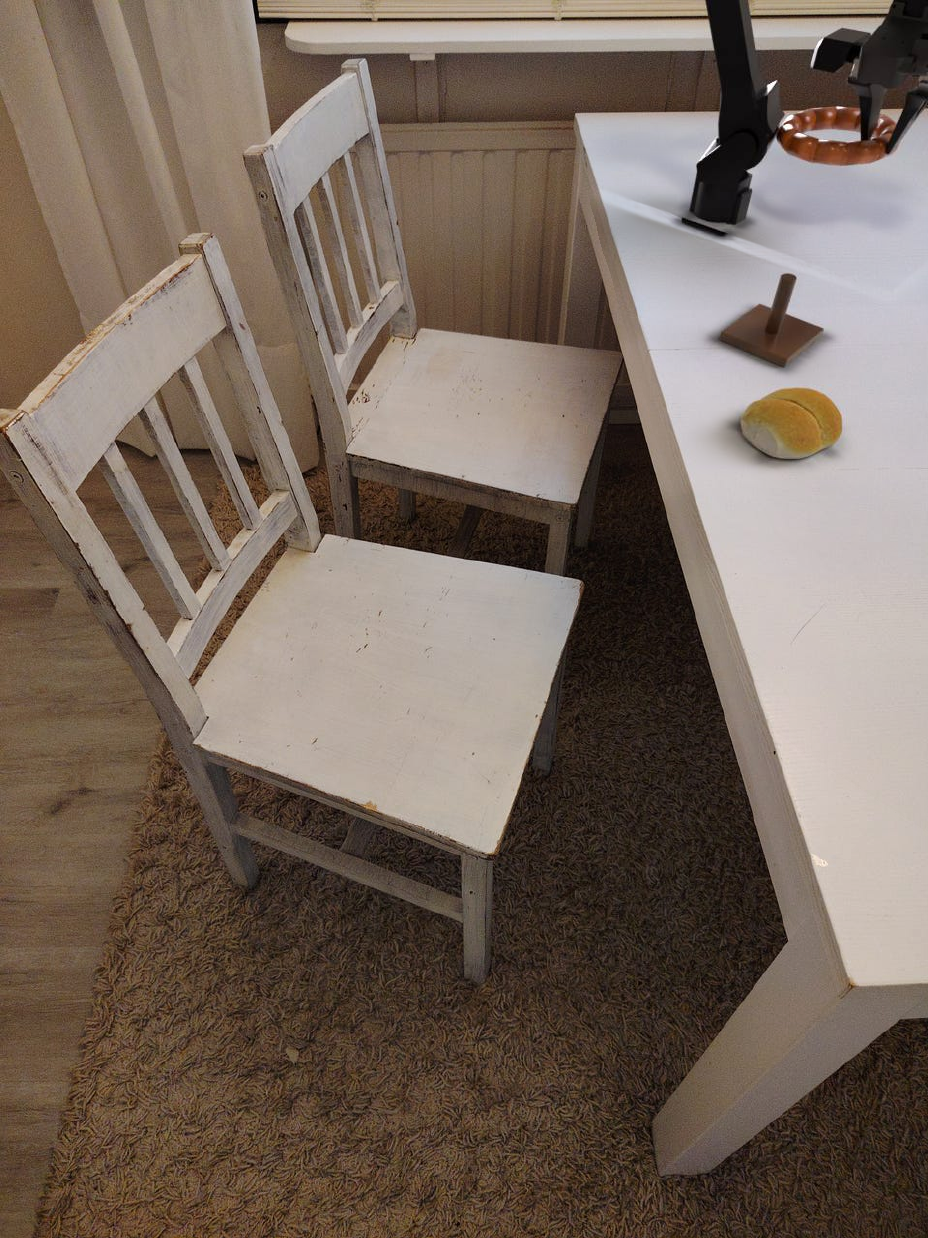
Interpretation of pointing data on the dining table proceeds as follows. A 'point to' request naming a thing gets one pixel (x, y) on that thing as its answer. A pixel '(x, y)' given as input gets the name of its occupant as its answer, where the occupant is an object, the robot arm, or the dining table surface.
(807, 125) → the segmented orange ring
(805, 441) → the bread roll
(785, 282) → the stand
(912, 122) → the robot arm
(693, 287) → the dining table surface
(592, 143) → the dining table surface
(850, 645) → the dining table surface
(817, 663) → the dining table surface
